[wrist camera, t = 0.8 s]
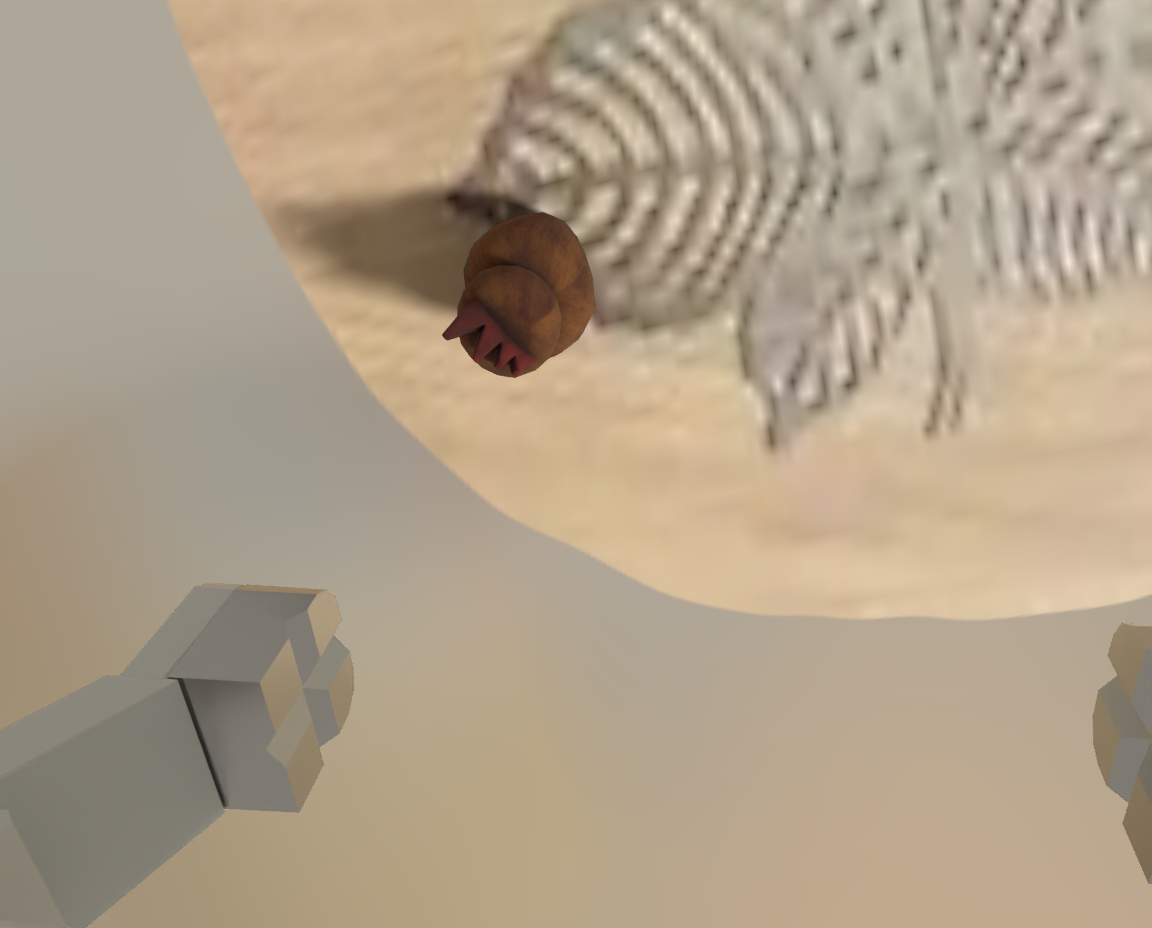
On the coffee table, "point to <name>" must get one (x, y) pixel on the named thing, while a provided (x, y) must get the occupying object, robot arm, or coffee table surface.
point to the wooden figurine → (523, 295)
